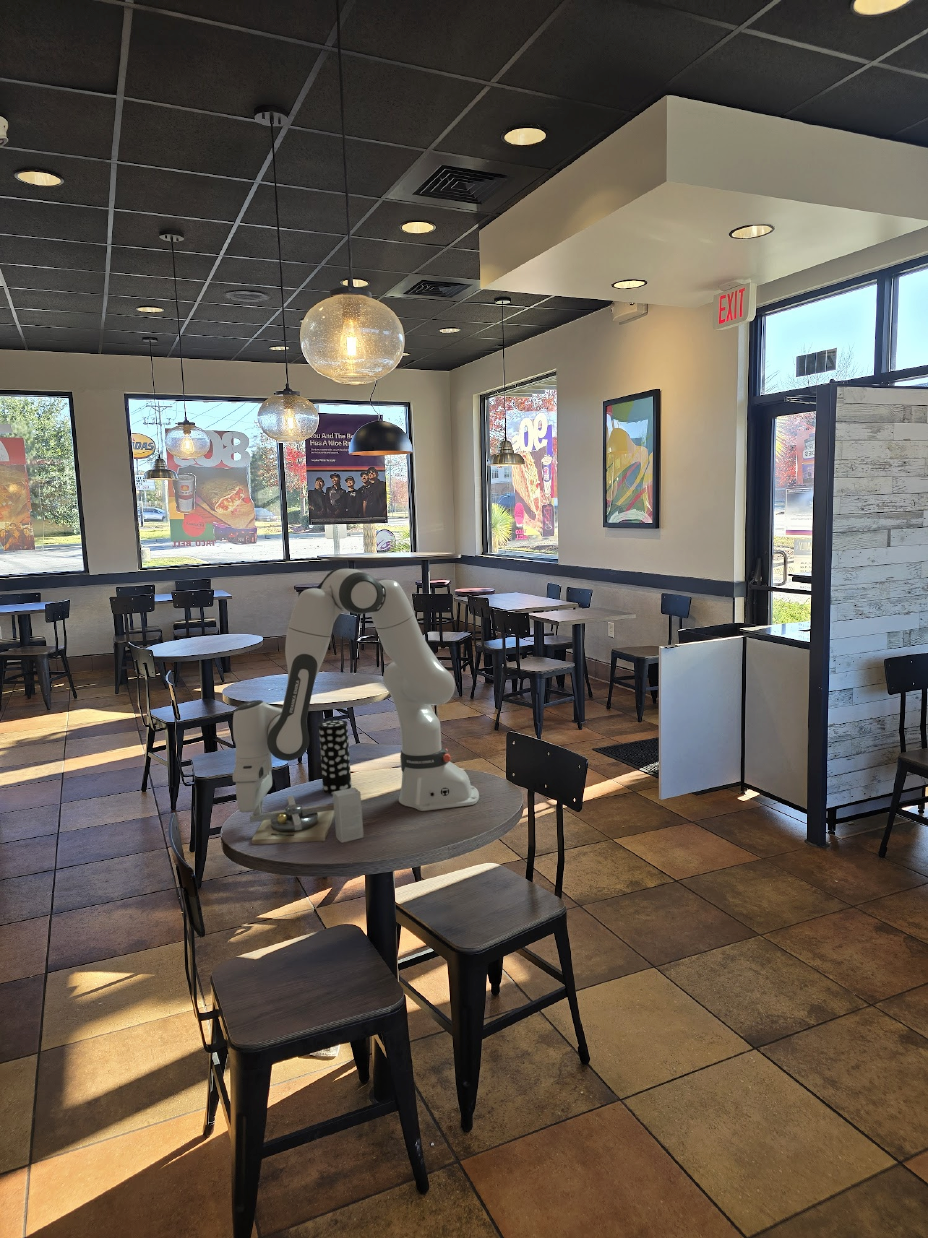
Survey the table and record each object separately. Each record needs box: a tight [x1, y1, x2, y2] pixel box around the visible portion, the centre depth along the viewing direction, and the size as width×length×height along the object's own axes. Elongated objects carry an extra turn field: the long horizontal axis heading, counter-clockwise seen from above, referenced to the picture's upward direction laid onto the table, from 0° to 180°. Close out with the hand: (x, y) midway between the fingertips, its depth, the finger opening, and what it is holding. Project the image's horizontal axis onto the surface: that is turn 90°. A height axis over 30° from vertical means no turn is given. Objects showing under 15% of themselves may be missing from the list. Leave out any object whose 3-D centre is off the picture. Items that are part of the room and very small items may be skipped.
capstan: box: [249, 795, 334, 832], centre depth 206 cm, size 17×17×4 cm
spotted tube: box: [318, 719, 352, 795], centre depth 234 cm, size 8×8×20 cm
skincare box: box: [332, 786, 365, 843], centre depth 198 cm, size 6×4×12 cm
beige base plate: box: [251, 810, 335, 845], centre depth 206 cm, size 18×18×1 cm
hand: (258, 816), depth 205 cm, fingers closed
